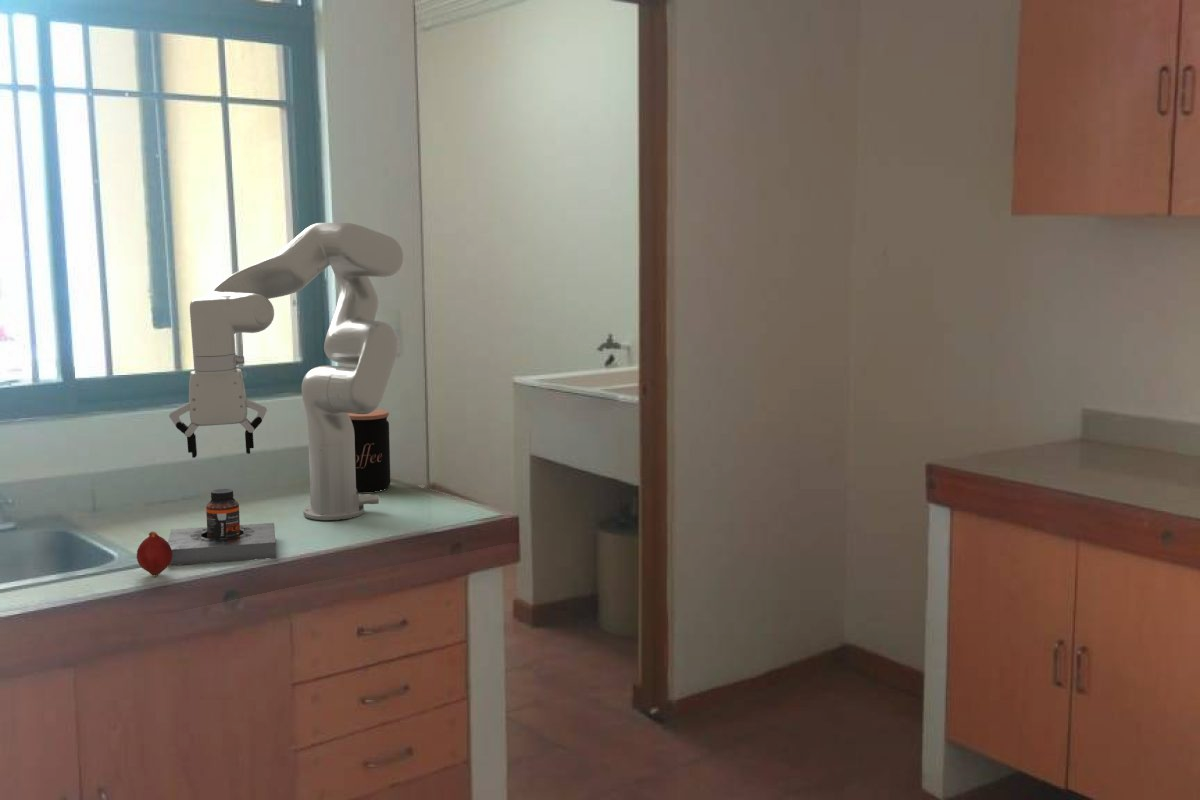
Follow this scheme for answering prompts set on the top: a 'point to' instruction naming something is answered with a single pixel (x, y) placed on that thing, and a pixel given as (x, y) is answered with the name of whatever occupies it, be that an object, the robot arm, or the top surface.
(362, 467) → the coffee jar
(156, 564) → the onion
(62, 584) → the top surface
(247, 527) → the jig plate
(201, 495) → the top surface
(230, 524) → the supplement bottle
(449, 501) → the top surface
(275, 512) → the top surface
